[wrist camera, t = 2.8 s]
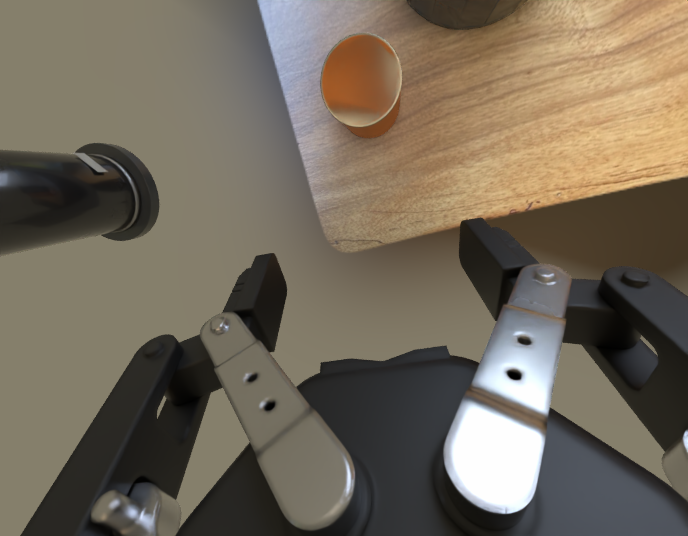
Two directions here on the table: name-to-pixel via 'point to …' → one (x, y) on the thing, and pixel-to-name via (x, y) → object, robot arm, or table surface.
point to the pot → (465, 11)
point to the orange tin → (362, 84)
